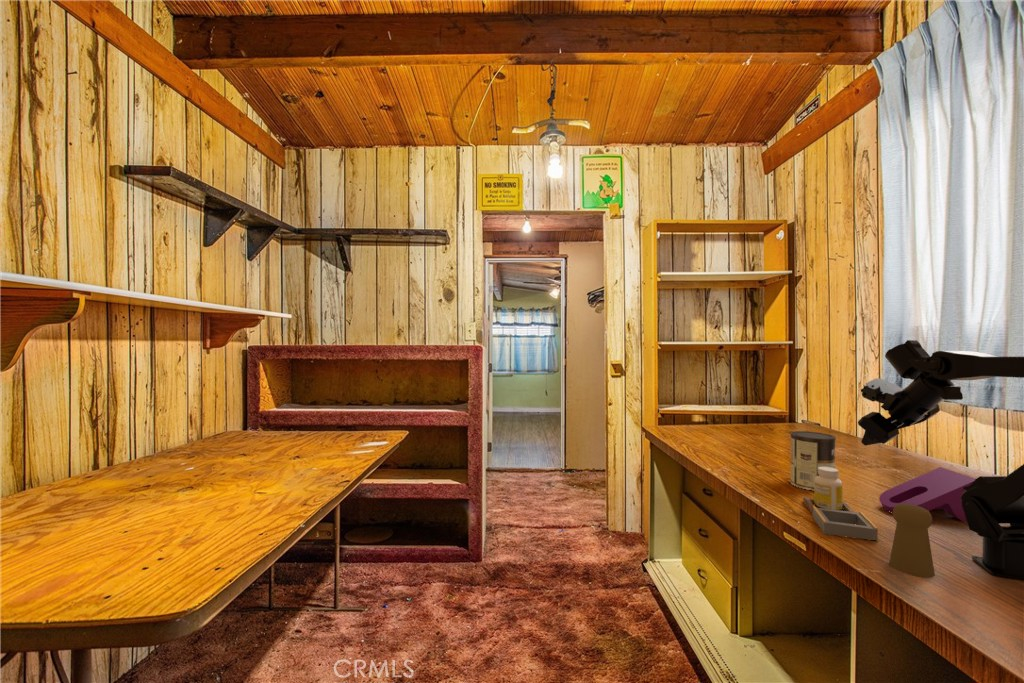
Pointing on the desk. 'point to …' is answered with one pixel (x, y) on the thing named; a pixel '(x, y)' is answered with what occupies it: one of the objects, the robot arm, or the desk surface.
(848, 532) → the socket plate
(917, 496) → the mounting bracket
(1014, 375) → the robot arm
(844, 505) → the frame
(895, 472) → the desk surface
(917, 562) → the cork
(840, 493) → the supplement bottle
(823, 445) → the coffee can
